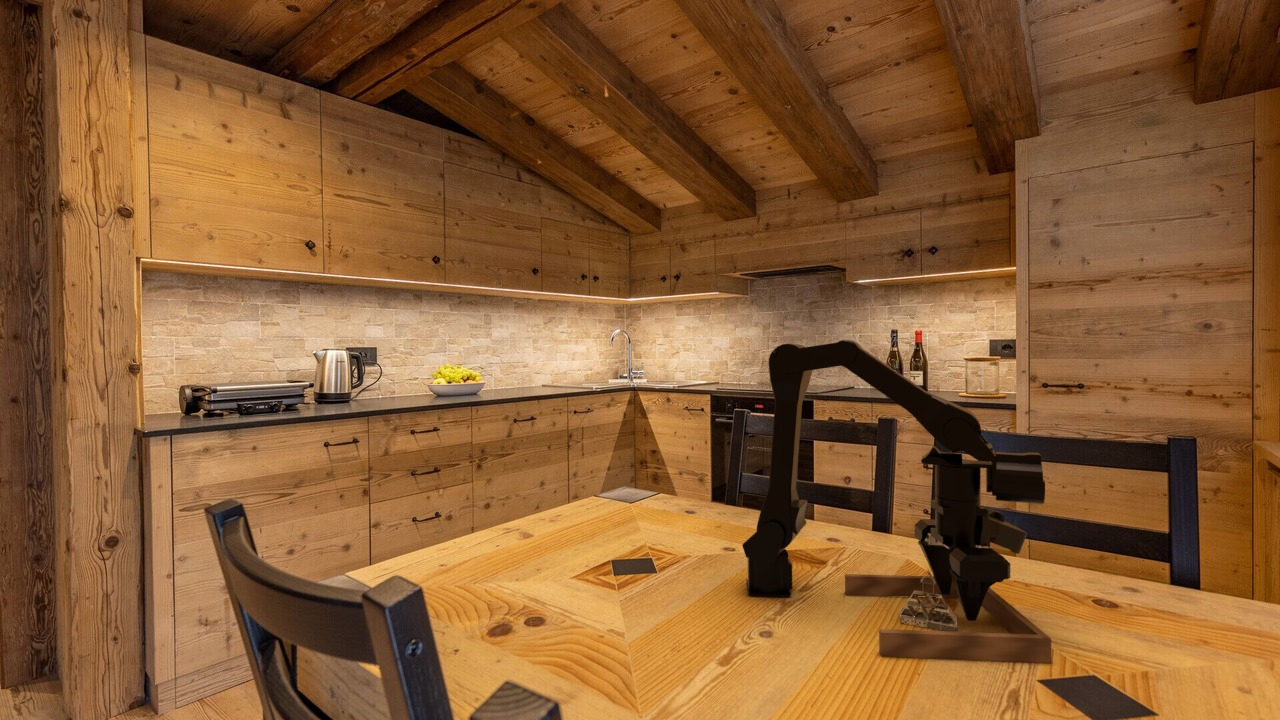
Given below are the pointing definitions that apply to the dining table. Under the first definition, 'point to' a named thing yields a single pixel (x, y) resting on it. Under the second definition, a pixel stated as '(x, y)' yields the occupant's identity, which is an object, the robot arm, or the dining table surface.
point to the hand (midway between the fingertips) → (957, 606)
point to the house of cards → (929, 618)
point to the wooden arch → (1013, 647)
